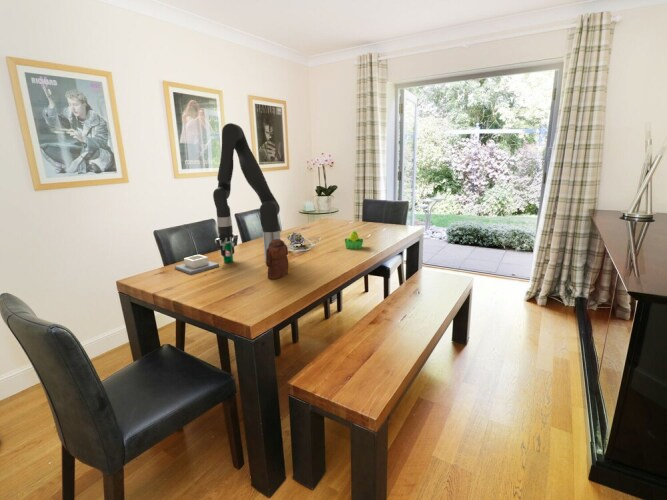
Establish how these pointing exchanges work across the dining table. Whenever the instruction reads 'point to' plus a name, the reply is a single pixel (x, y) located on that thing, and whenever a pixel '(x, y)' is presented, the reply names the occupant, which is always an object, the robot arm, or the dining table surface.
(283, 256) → the wooden figurine
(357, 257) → the dining table surface
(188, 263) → the can holder
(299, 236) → the passion flower
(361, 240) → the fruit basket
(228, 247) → the soda can
